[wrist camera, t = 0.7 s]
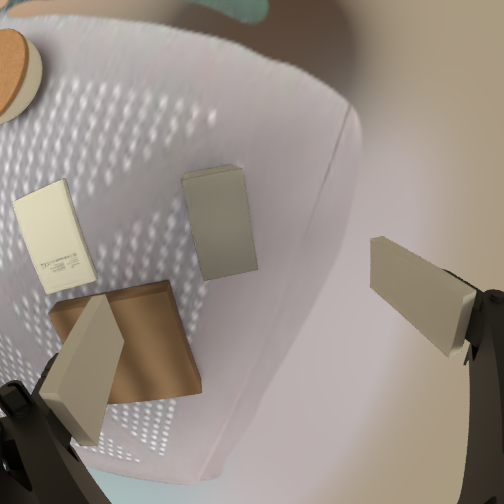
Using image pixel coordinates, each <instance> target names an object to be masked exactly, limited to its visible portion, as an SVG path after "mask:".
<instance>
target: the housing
mask: <svg viewBox="0 0 504 504" xmlns="http://www.w3.org/2000/svg"><path fill="white" fill-rule="evenodd" d="M181 182H182V187H183V192H184V197H185V202H186V206H187V211H188V216H189V221H190V225H191V230H192V235H193V239H194V244H195V248H196V252H197V257H198V261H199V265H200V270H201V274H202V278H203V281H206V280H211V279H216V278H221V277H226V276H230V275H235V274H240V273H245V272H249V271H254V270H258V265H257V259H256V252H255V246H254V240H253V234H252V227H251V221H250V215H249V209H248V202H247V196H246V190H245V184H244V178H243V171H242V168H239V167H236V166H234V165H226V166H221V167H215V168H210V169H205V170H200V171H195V172H190V173H185V175H184V177H183V178H182V180H181Z"/></svg>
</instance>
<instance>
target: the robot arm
mask: <svg viewBox="0 0 504 504" xmlns="http://www.w3.org/2000/svg"><path fill="white" fill-rule="evenodd" d="M370 243H371V271H370V272H371V273H370V288H372V289H373V290H374V291H375V292H376V293H377V294H378V295H380V296H381V297H382V298H383V299H384V300H385V301H386V302H388V303H389V304H390V305H391V306H392V307H393V308H394V309H395V310H397V311H398V312H399V313H400V314H401V315H402V316H403V317H404V318H405V319H407V320H408V321H409V322H410V323H411V324H412V325H413V326H414V327H415V328H416V329H418V330H419V331H420V332H421V333H422V334H423V335H424V336H425V337H426V338H427V339H428V340H430V341H431V342H432V343H433V344H434V345H435V346H436V347H437V348H438V349H439V350H440V351H441V352H442V353H443V354H444V355H445V356H446V357H448V358H450V357H452V356H454V355H455V354H457V353H459V352H461V350H462V347H463V344H464V340H465V339H466V340H467V341H469V342H470V345H469V349H468V352H467V355H466V358H465V361H464V365H466V363H467V361H468V360H469V376H470V415H469V433H468V434H469V435H468V446H467V456H466V464H465V471H464V478H463V485H462V490H461V494H460V498H459V501H458V503H457V504H504V292H502V291H500V290H495V289H493V290H487V291H485V292H482V291H481V290H479V289H478V288H476V287H474V286H473V285H471V284H470V283H468V282H466V281H463V279H461V278H460V277H457V276H456V275H454V274H453V273H451V272H450V271H447V270H444V269H441V268H439V267H437V266H435V265H434V264H432V263H430V262H428V261H427V260H425V259H423V258H421V257H420V256H418V255H416V254H414V253H413V252H410V251H409V250H407V249H406V248H404V247H402V246H400V245H398V244H396V243H394V242H393V241H391V240H389V239H387V238H385V237H383V236H381V237H376V238H372V239H370ZM123 344H124V339H123V337H122V335H121V332H120V330H119V328H118V325H117V323H116V320H115V318H114V315H113V313H112V310H111V308H110V305H109V303H108V300H107V297H106V295H105V294H103V295H98V296H93V297H91V299H90V300H89V302H88V304H87V305H86V307H85V308H84V310H83V312H82V313H81V315H80V317H79V318H78V320H77V322H76V324H75V325H74V327H73V329H72V330H71V332H70V334H69V336H68V337H67V339H66V341H65V343H64V345H63V346H62V348H61V350H60V352H59V353H56V354H55V355H54V356H53V357H52V358H51V359H50V360H49V361H48V363H47V365H46V367H45V369H44V370H45V371H43V373H42V374H41V378H39V380H38V382H37V384H36V386H35V388H34V390H33V392H32V394H31V395H30V393H29V392H28V391H27V389H26V388H25V386H24V385H23V383H22V382H21V381H19V380H13V381H10V382H7V383H6V384H4V385H3V386H2V387H1V388H0V408H1V409H2V411H3V412H4V413H5V414H6V417H2V418H0V504H111V502H110V501H109V499H108V498H107V497H106V496H105V494H104V493H103V492H102V490H101V489H100V487H99V486H98V485H97V483H96V482H95V480H94V479H93V478H92V476H91V475H90V473H89V472H88V470H87V469H86V467H85V466H84V464H83V462H82V461H81V459H80V458H79V456H78V454H77V453H76V451H75V449H74V448H73V447H72V446H71V445H70V441H71V437H73V438H74V439H75V440H76V442H77V443H78V444H79V445H80V446H98V441H99V436H100V431H101V427H102V423H103V418H104V414H105V410H106V406H107V402H108V398H109V394H110V390H111V386H112V383H113V379H114V375H115V372H116V368H117V365H118V361H119V358H120V354H121V351H122V348H123ZM3 463H4V464H5V465H6V470H5V468H4V466H3Z"/></svg>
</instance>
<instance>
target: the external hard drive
mask: <svg viewBox="0 0 504 504" xmlns="http://www.w3.org/2000/svg"><path fill="white" fill-rule="evenodd" d="M12 204H13V207H14V211H15V214H16V217H17V220H18V223H19V226H20V229H21V232H22V235H23V238H24V241H25V244H26V246H27V249H28V252H29V254H30V257H31V260H32V262H33V265H34V267H35V270H36V272H37V274H38V276H39V279H40V281H41V283H42V286H43V288H44V290H45V292H46V294H51V293H55V292H58V291H61V290H65V289H68V288H72V287H76V286H79V285H83V284H86V283H90V282H93V281H96V280H97V279H98V275H97V273H96V270H95V268H94V265H93V262H92V260H91V257H90V254H89V252H88V249H87V246H86V243H85V241H84V238H83V235H82V232H81V229H80V226H79V223H78V220H77V217H76V213H75V210H74V207H73V204H72V200H71V197H70V193H69V190H68V186H67V183H66V179H62V180H59V181H57V182H55V183H52V184H50V185H48V186H45V187H43V188H41V189H39V190H37V191H35V192H32V193H30V194H28V195H26V196H24V197H22V198H20V199H18V200H16V201H14V202H12Z"/></svg>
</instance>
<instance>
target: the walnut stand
mask: <svg viewBox="0 0 504 504" xmlns="http://www.w3.org/2000/svg"><path fill="white" fill-rule="evenodd" d="M103 294H105V295H106V297H107V300H108V303H109V305H110V308H111V310H112V313H113V315H114V318H115V320H116V323H117V325H118V328H119V330H120V332H121V335H122V337H123V339H124V344H123V348H122V351H121V354H120V358H119V361H118V365H117V368H116V372H115V375H114V379H113V383H112V386H111V390H110V394H109V398H108V402H107V404H119V403H131V402H141V401H151V400H159V399H167V398H174V397H181V396H187V395H194V394H200V393H202V385H201V377H200V374H199V372H198V369H197V366H196V363H195V361H194V358H193V355H192V352H191V349H190V346H189V343H188V340H187V337H186V334H185V331H184V328H183V325H182V322H181V319H180V315H179V312H178V309H177V306H176V302H175V299H174V296H173V292H172V289H171V286H170V282H169V280H166V281H161V282H156V283H151V284H146V285H141V286H136V287H131V288H126V289H121V290H116V291H111V292H106V293H101V294H96V295H91V296H86V297H81V298H76V299H71V300H65V301H60V302H57V303H56V304H55V305H54V306H53V308H52V309H51V310H50V312H49V313H48V314H49V316H50V319H51V321H52V323H53V325H54V327H55V329H56V331H57V333H58V335H59V337H60V339H61V341H62V343H63V345H64V343H65V341H66V339H67V337H68V336H69V334H70V332H71V330H72V329H73V327H74V325H75V324H76V322H77V320H78V318H79V317H80V315H81V313H82V312H83V310H84V308H85V307H86V305H87V304H88V302H89V300H90V299H91V297H93V296H98V295H103Z"/></svg>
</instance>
